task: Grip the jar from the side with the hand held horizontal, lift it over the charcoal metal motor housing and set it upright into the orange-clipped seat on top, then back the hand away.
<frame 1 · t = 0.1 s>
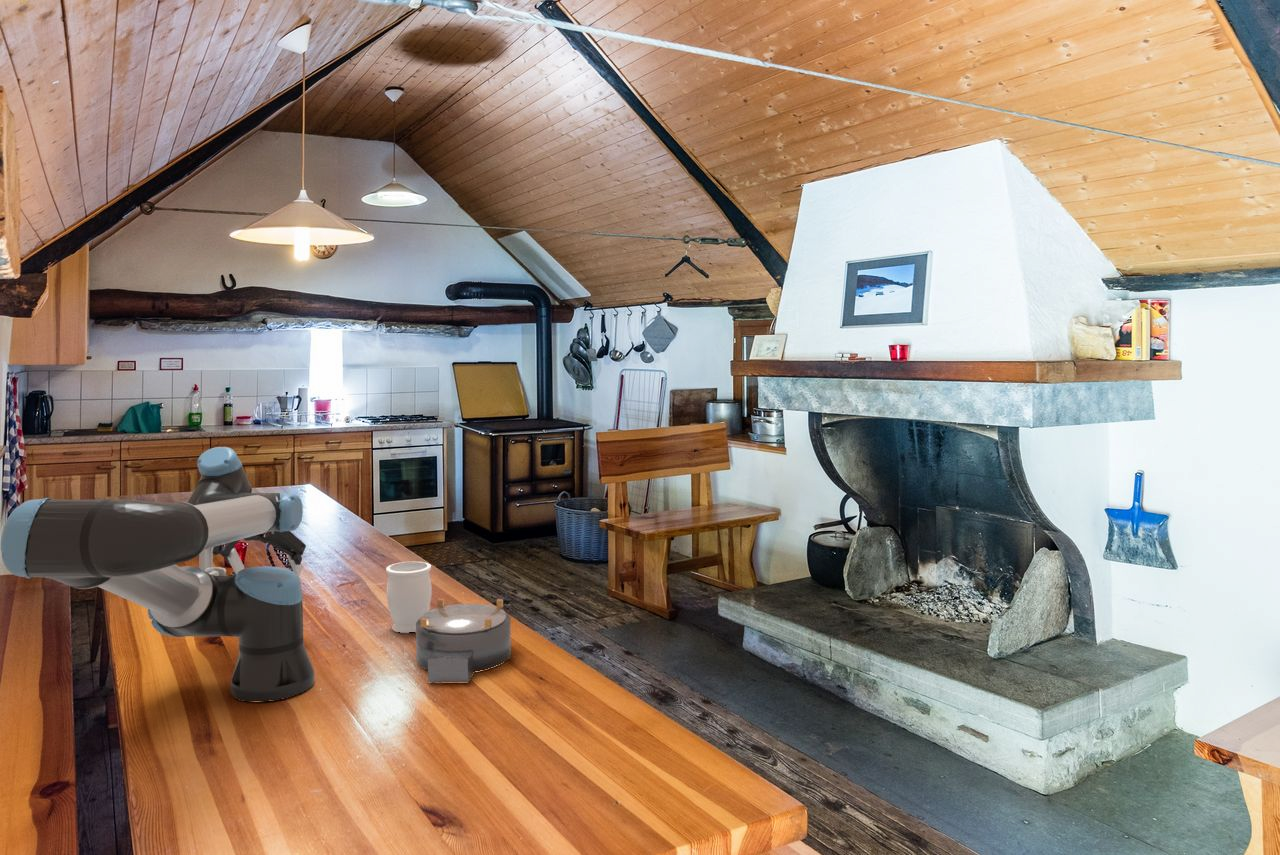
hand: (269, 571, 193), 15 cm above the table, tool tilted 35°, fingers open, 13 cm apart
jar: (410, 628, 200), on the table
motor housing: (464, 656, 182), on the table
engine component: (207, 595, 226), on the table
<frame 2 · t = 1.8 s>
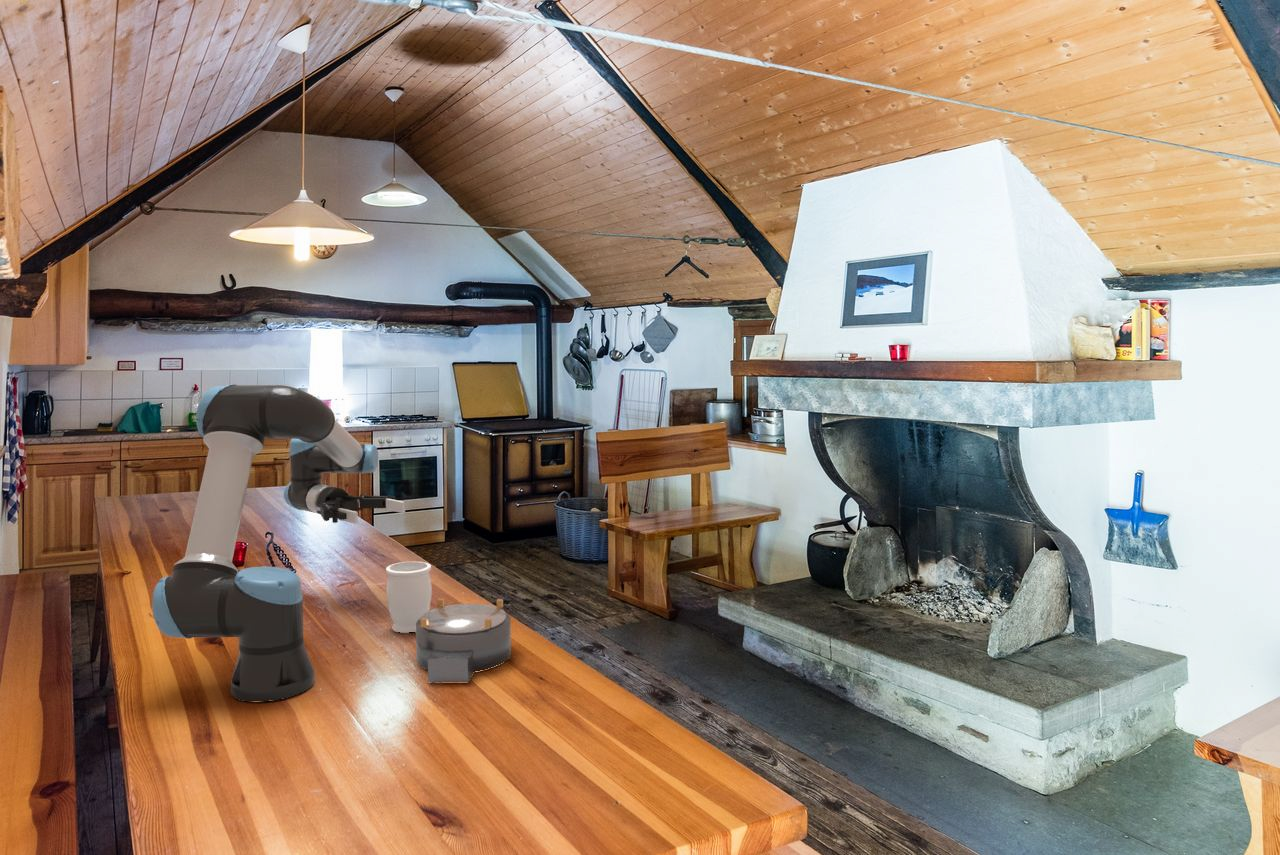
hand: (380, 512, 203), 27 cm above the table, tool horizontal, fingers open, 13 cm apart
nothing on the table moved.
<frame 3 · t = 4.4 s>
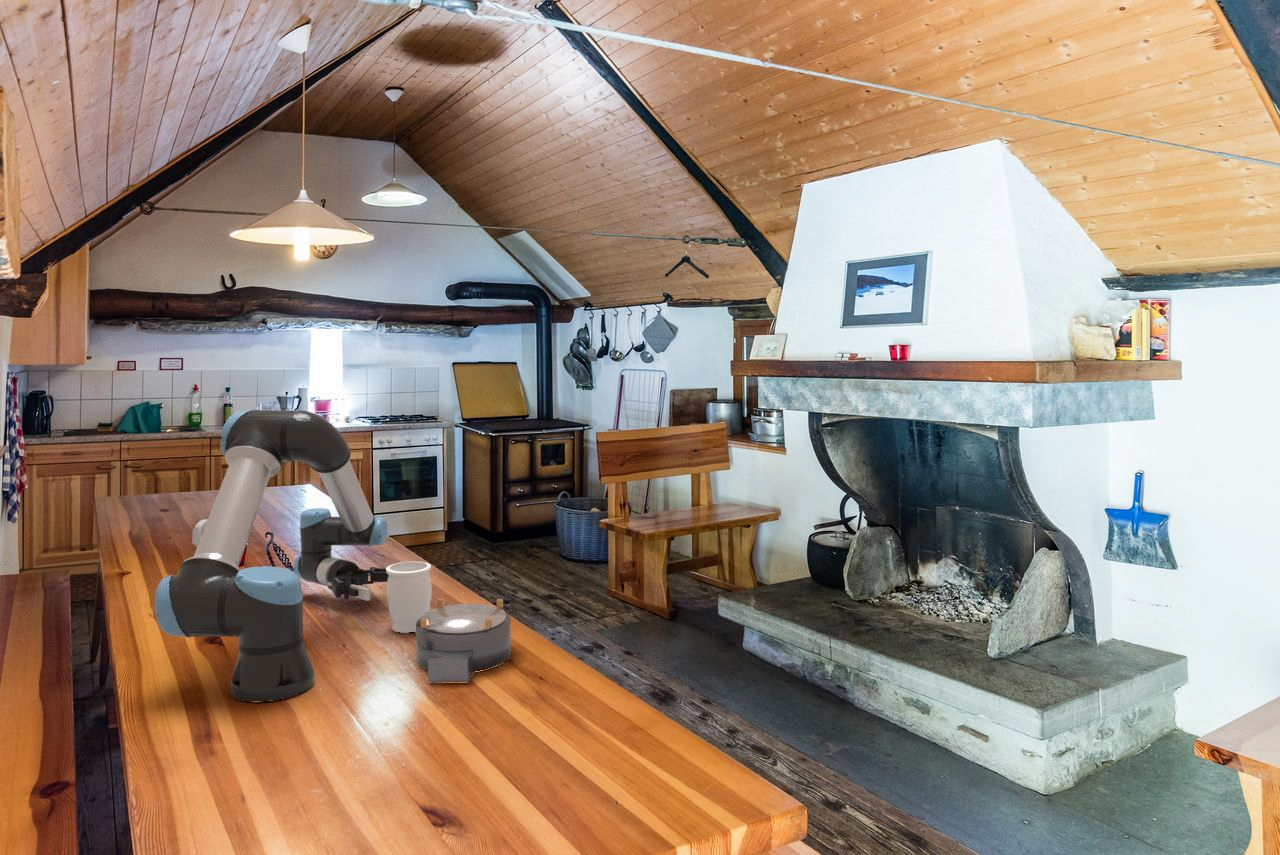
hand: (392, 588, 204), 8 cm above the table, tool horizontal, fingers open, 13 cm apart
nothing on the table moved.
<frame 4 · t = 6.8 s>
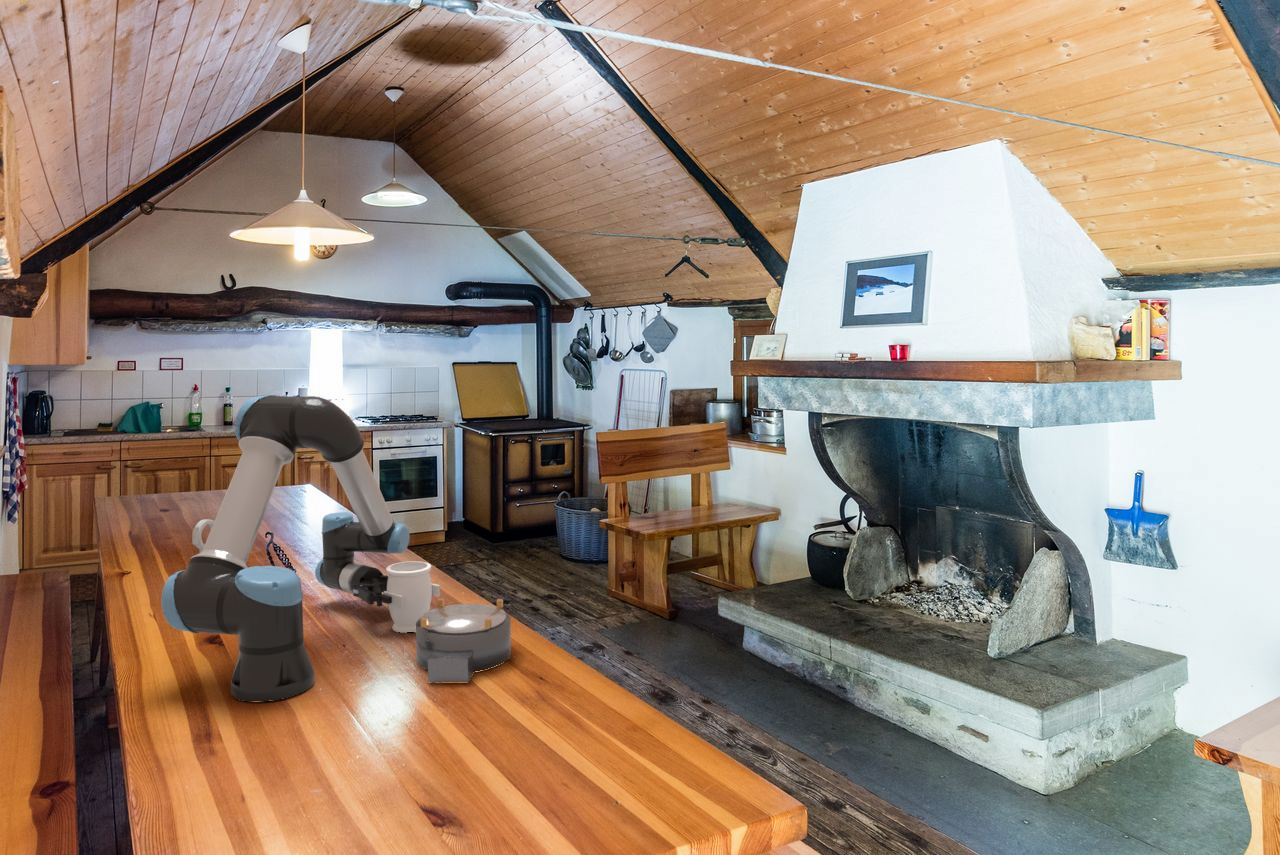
hand: (420, 596, 197), 9 cm above the table, tool horizontal, fingers closed on jar, 10 cm apart
jar: (410, 628, 200), on the table, touching gripper
everything else where it was.
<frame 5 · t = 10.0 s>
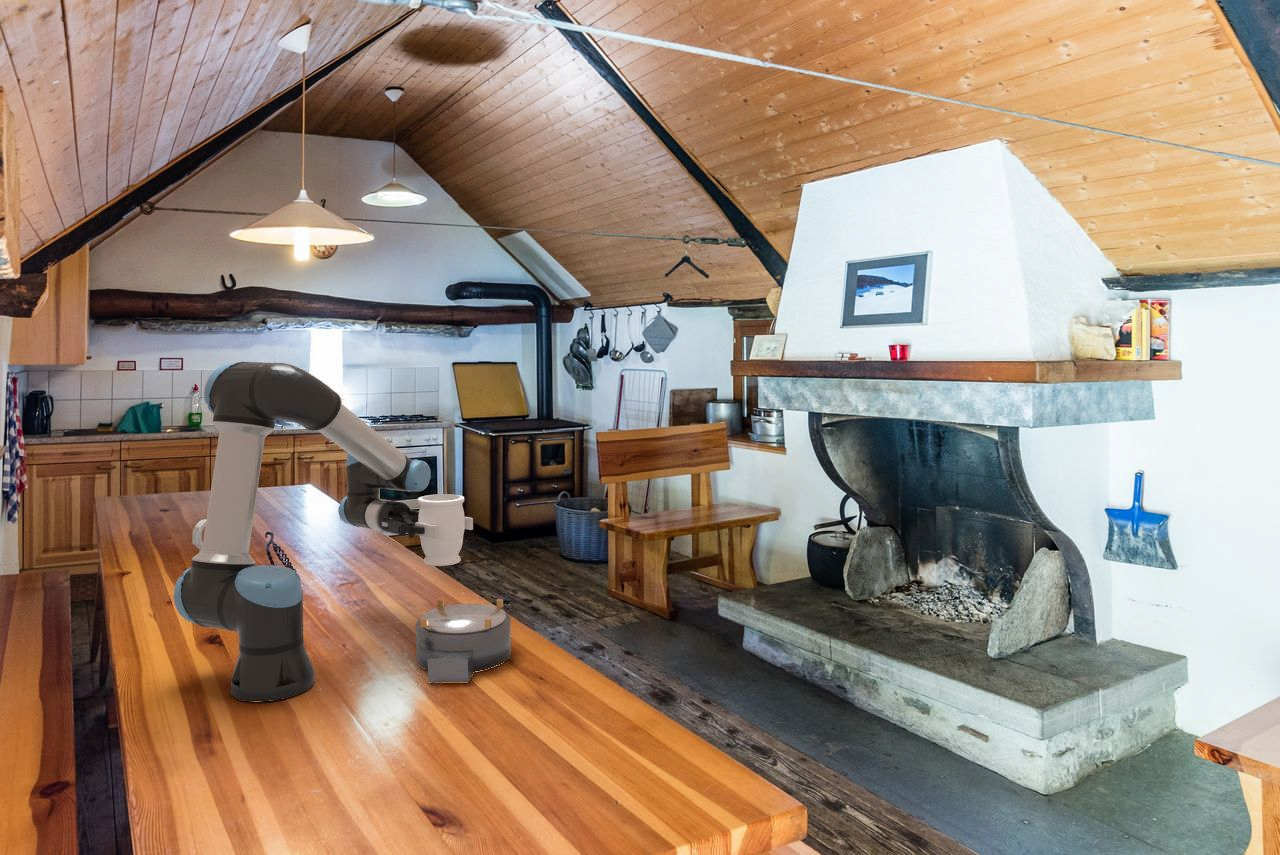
hand: (454, 527, 189), 26 cm above the table, tool horizontal, fingers closed on jar, 10 cm apart
jar: (442, 562, 192), point 18 cm above the table, touching gripper
everything else where it was.
when the fingers open (18 cm above the table, at t = 13.4 s): jar stays where it is, resting on motor housing.
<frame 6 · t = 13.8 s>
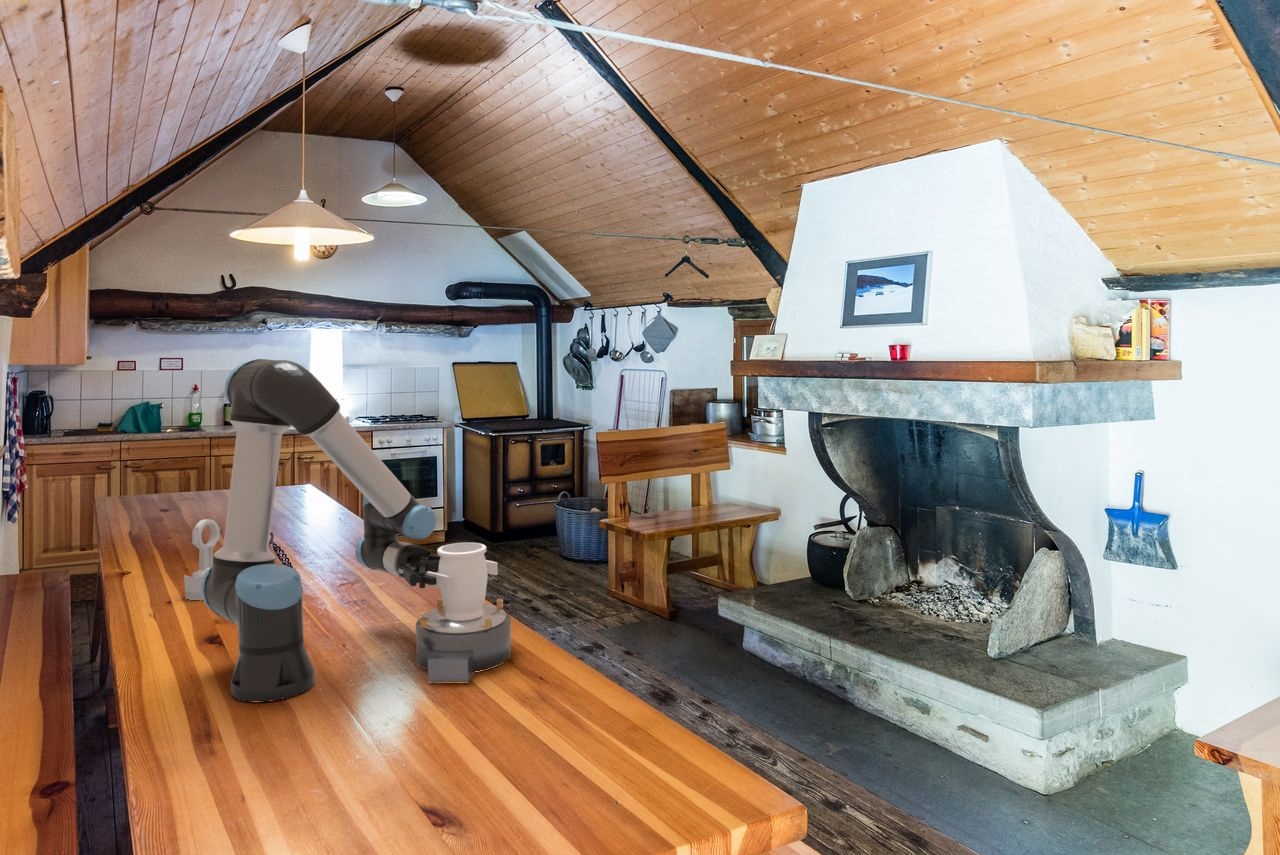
hand: (473, 575, 178), 18 cm above the table, tool horizontal, fingers open, 13 cm apart
jar: (464, 616, 181), point 9 cm above the table, touching motor housing
everything else where it was.
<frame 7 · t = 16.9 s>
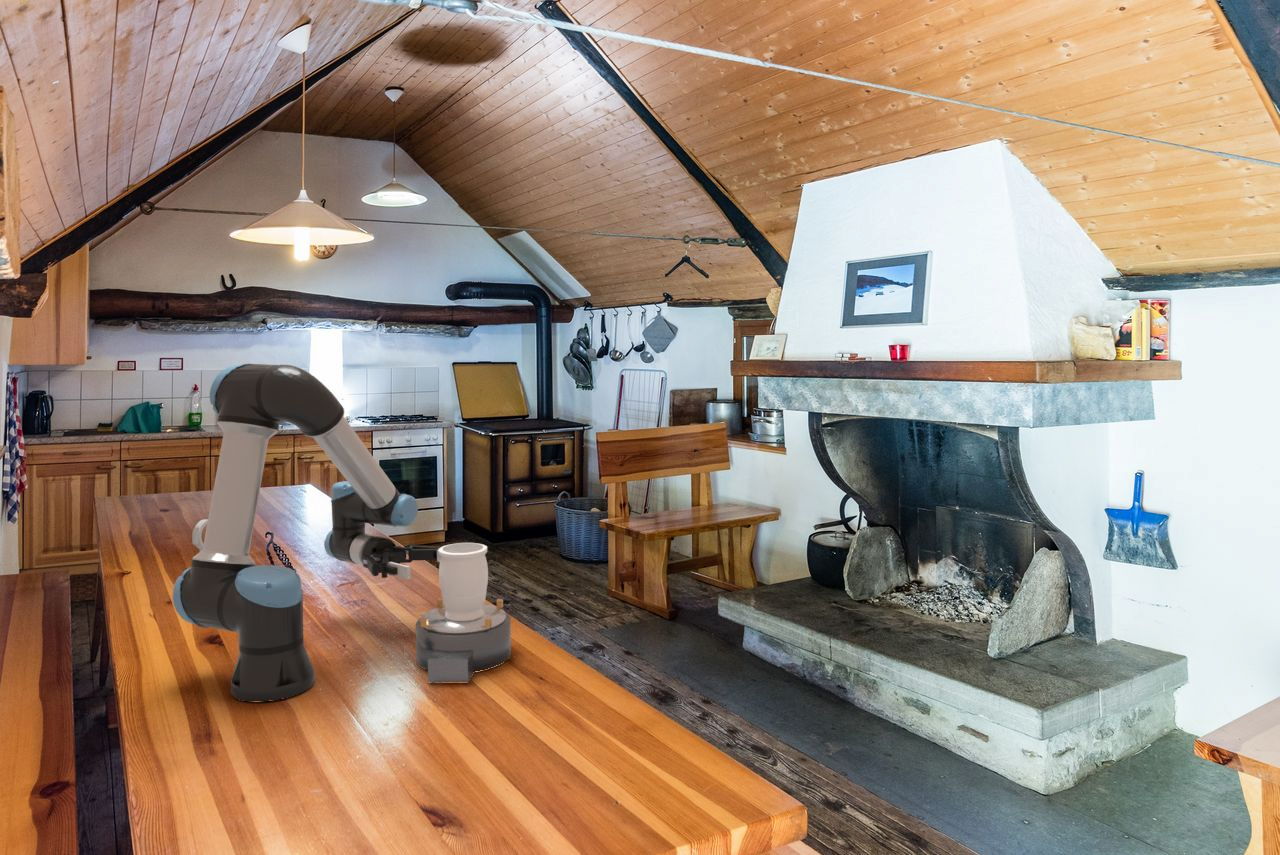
hand: (433, 566, 186), 19 cm above the table, tool horizontal, fingers open, 13 cm apart
nothing on the table moved.
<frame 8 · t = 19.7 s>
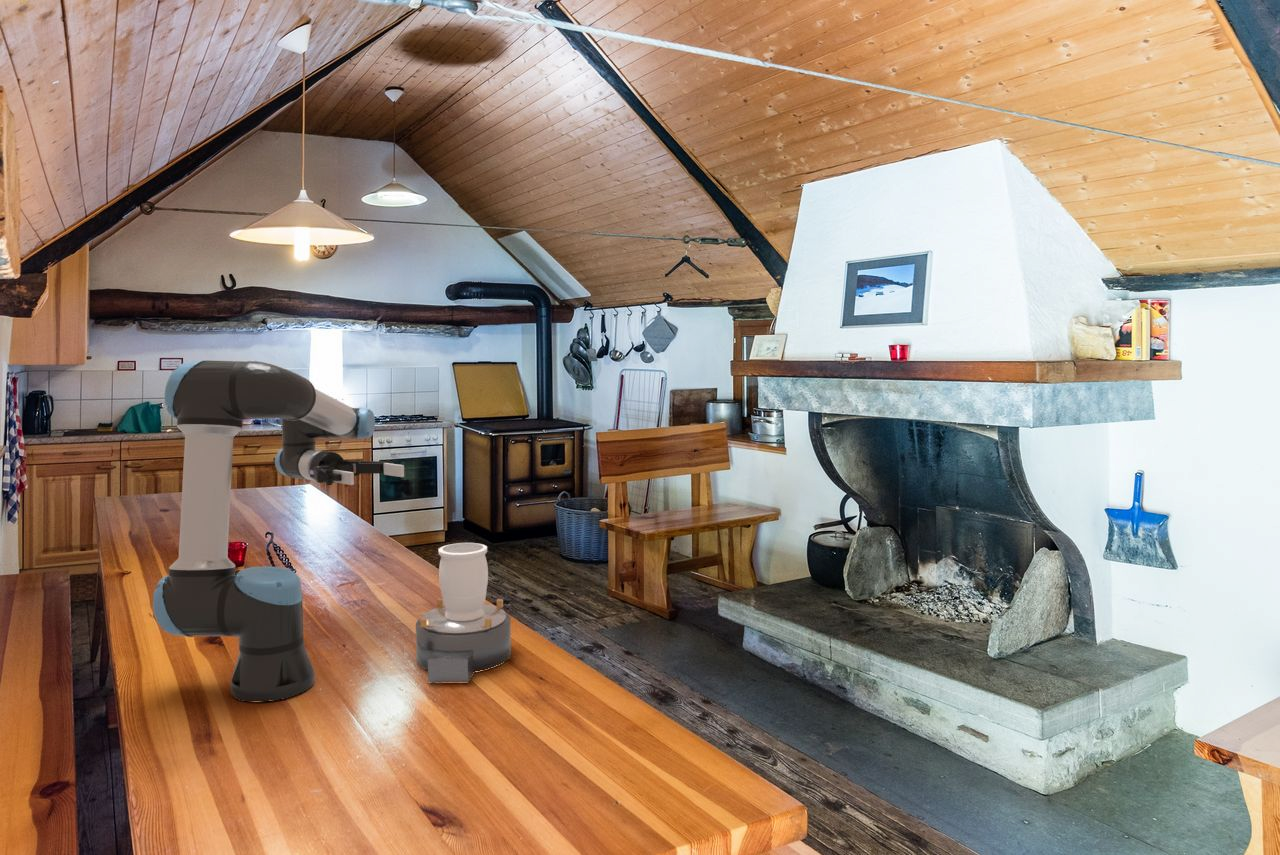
hand: (378, 474, 190), 38 cm above the table, tool horizontal, fingers open, 13 cm apart
nothing on the table moved.
at the end: jar inside the target area on the motor housing (0.3 cm from its centre), point 8.8 cm above the motor housing's base; jar tilted 0°; the gripper is holding nothing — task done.
